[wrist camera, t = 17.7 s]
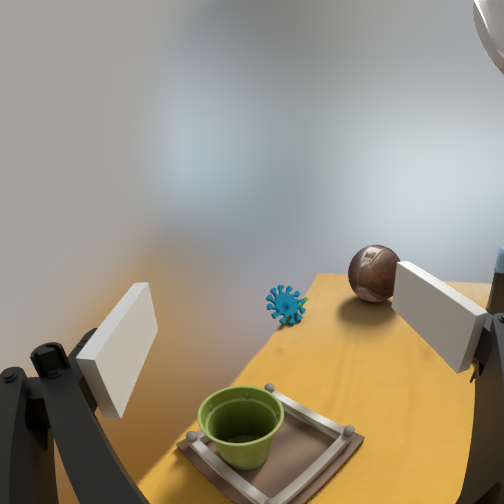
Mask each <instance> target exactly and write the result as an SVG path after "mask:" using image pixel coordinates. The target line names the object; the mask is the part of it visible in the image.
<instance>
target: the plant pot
mask: <svg viewBox="0 0 504 504" xmlns="http://www.w3.org/2000/svg"><path fill="white" fill-rule="evenodd" d="M283 419H284V410H283V406H282V404H281V402H280V401H279V399H278V398H277V397H276V396H275V395H273V394H272V393H270V392H269V391H266V390H264V389H261V388H258V387H253V386H234V387H229V388H225V389H222V390H220V391H217V392H216V393H214V394H212V395H211V396H209V397H208V398H207V399H206V400H205V401H204V402H203V403H202V405H201V406H200V408H199V411H198V423H199V426H200V428H201V430H202V431H203V433H204V434H205V435H206V436H207V437H208V438H210V439H211V440H212V441H213V442H214V444H215V445H216V447H217V449H218V451H219V452H220V454H221V456H222V458H223V459H224V461H225V462H226V463H227V464H228V465H230V466H232V467H233V468H235V469H239V470H251V469H255V468H257V467H259V466H261V465H262V464H263V463H264V462H265V461H266V460H267V459H268V457H269V453H270V449H271V445H272V441H273V437H274V434H275V433H276V432H277V431H278V429H279V428H280V426H281V425H282V422H283ZM241 438H249V440H239V439H241Z"/></svg>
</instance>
